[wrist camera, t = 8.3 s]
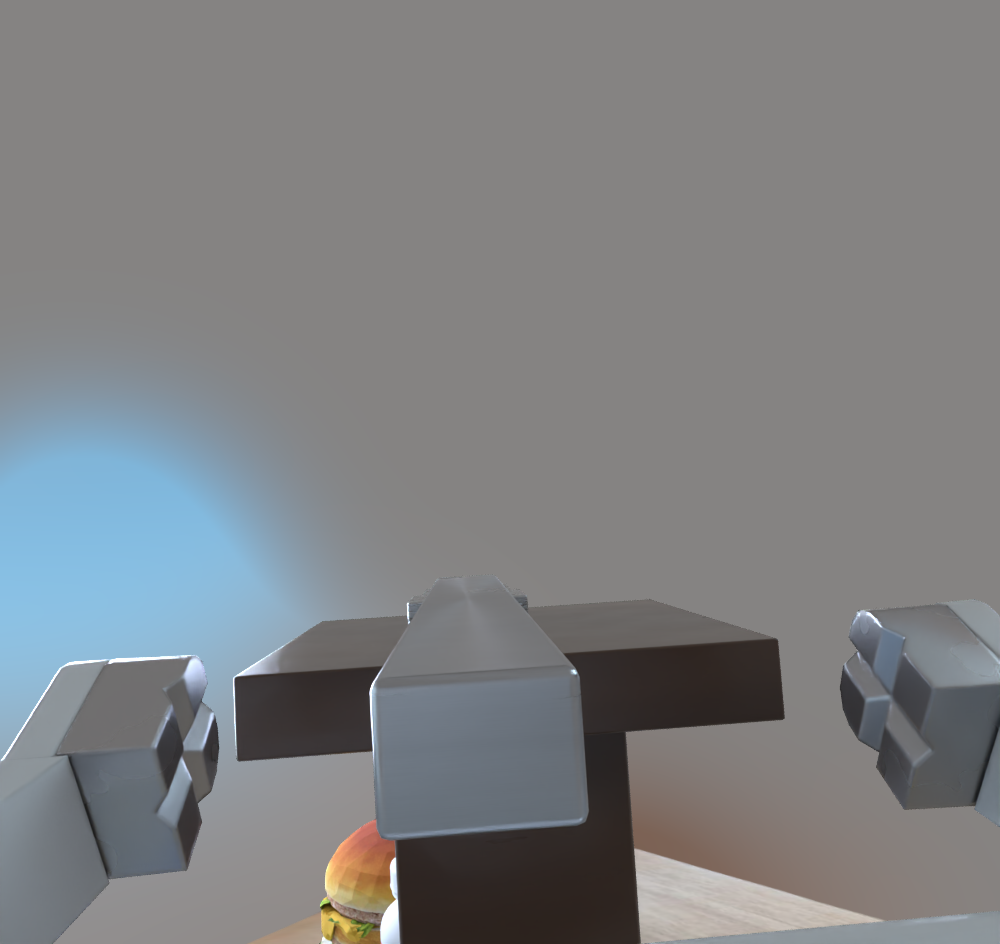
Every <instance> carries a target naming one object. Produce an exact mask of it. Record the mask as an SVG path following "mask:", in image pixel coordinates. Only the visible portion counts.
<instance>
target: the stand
mask: <svg viewBox="0 0 1000 944" xmlns="http://www.w3.org/2000/svg"><path fill="white" fill-rule="evenodd" d="M528 614H529V615H530V616H531V617H532V619H533V620H534V621H535V622H536V623H537V624H538V625H539V627H540V628H541V629H542V630H543V631H544V632H545V634H546V635H547V636H548V637H549V638H550V639H551V640H552V642H553V643H554V644H555V645H556V646H557V647H558V649H559V650H560V651H561V652H562V653H563V654H564V655H565V657H566V658H567V659H568V660H569V661H570V662H571V664H572V665H573V666H574V667H575V668H576V670H577V672H578V674H579V677H580V690H581V704H582V719H583V734H584V749H585V764H586V778H587V793H588V808H589V812H588V816H587V819H586V821H585V822H584V823H582V824H580V825H578V826H568V827H556V828H543V829H530V830H518V831H505V832H492V833H480V834H467V835H455V836H442V837H429V838H417V839H404V840H395V858H396V878H397V898H398V918H399V937H400V944H641V939H640V925H639V911H638V897H637V883H636V869H635V855H634V841H633V828H632V815H631V814H632V813H631V800H630V785H629V772H628V757H627V744H626V732H631V731H644V730H657V729H669V728H682V727H696V726H708V725H722V724H735V723H748V722H761V721H774V720H783V719H784V718H785V717H784V704H783V694H782V682H781V669H780V658H779V646H778V640H777V639H776V638H773V637H770V636H766V635H763V634H760V633H757V632H754V631H751V630H747V629H744V628H741V627H738V626H734V625H731V624H728V623H725V622H721V621H718V620H715V619H712V618H708V617H705V616H702V615H699V614H696V613H692V612H689V611H686V610H683V609H679V608H676V607H673V606H670V605H666V604H663V603H660V602H657V601H653V600H650V599H649V600H634V601H620V602H604V603H589V604H574V605H560V606H545V607H530V608H528ZM408 625H409V624H408V616H396V617H381V618H366V619H351V620H336V621H322V622H321V623H319V624H317V625H316V626H314V627H313V628H311V629H309V630H308V631H306V632H305V633H303V634H302V635H300V636H298V637H297V638H295V639H294V640H292V641H290V642H289V643H287V644H286V645H284V646H283V647H281V648H279V649H278V650H276V651H275V652H273V653H272V654H270V655H268V656H267V657H265V658H264V659H262V660H260V661H259V662H257V663H256V664H254V665H253V666H251V667H249V668H248V669H246V670H245V671H243V672H242V673H240V674H238V675H237V676H235V677H234V679H233V681H234V709H235V735H236V759H237V761H252V760H266V759H279V758H292V757H304V756H318V755H329V754H330V755H331V754H343V753H357V752H370V751H373V748H372V727H371V707H370V689H371V687H372V684H373V681H374V680H375V678H376V677H377V675H378V673H379V672H380V670H381V669H382V667H383V665H384V664H385V662H386V660H387V659H388V657H389V656H390V654H391V652H392V651H393V649H394V648H395V646H396V644H397V643H398V641H399V640H400V638H401V636H402V635H403V633H404V632H405V630H406V628H407V627H408Z"/></svg>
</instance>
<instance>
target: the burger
mask: <svg viewBox="0 0 1000 944" xmlns="http://www.w3.org/2000/svg"><path fill="white" fill-rule="evenodd" d="M394 858H395V840H392V841H390V840H386V839H382V838H381V837H380V835H379V833H378V831H377V829H376V819H375V820H373V821H371V822H369V823H367V824H365V825H364V826H362V827H361V828H359V829H358V830H357V831H355V832H354V833H353V834H351V835H350V836H349V837H348V838H347V839H346V840H345V841H344V842H343V843H342V844H341V845H340V846H339V847H338V849H337V851H336V852H335V854H334V856H333V857H332V859H331V860H330V862H329V865H328V868H327V870H326V878H325V890H326V892H327V896H328V897H326V898H325V899H323V901H322V902H321V905H320V908H321V913H322V933H323V938H322V942H321V943H319V944H381V931H380V930H381V922H382V919H383V916H384V914H385V912H386V910H387V909H388V907H389V906H390V905H391V904H392V903H393V902H394V901H395V900H396V898H395V897H394V896H393V894H392V890H391V888H390V883H391V876H390V865H391V862H392V860H393V859H394Z"/></svg>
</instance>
